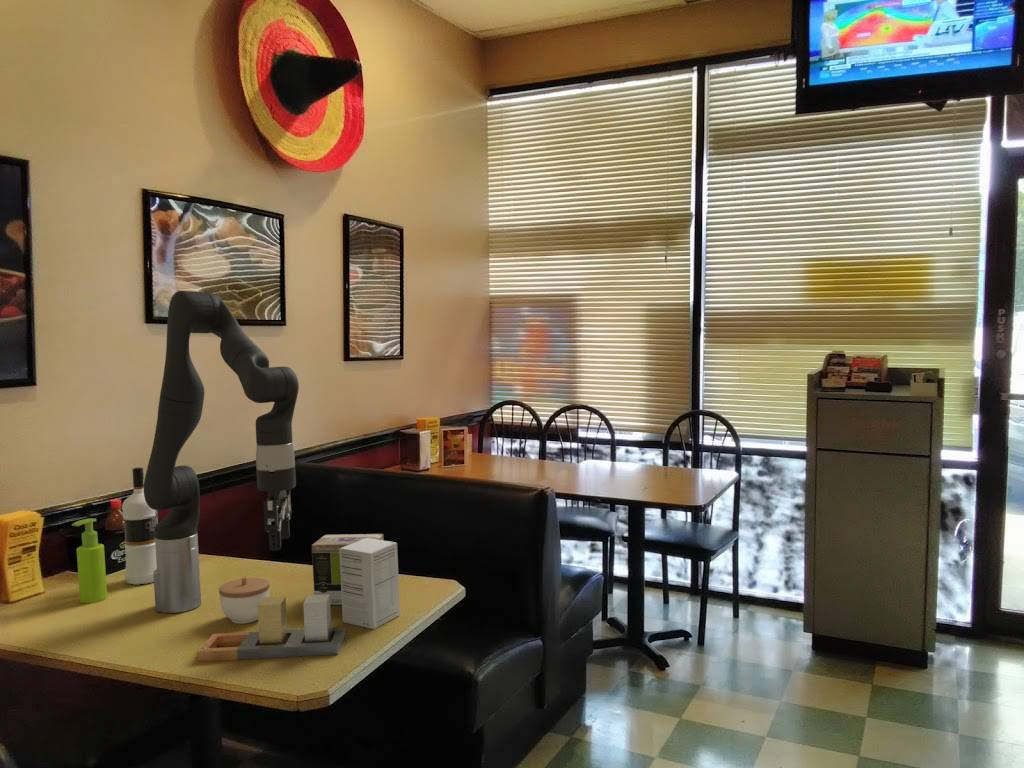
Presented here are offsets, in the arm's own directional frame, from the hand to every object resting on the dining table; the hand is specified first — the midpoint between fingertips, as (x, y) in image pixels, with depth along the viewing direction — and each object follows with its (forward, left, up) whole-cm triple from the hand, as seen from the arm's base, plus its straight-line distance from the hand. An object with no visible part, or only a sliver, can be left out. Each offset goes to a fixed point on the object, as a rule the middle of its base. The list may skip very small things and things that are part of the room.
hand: (279, 544), depth 157 cm
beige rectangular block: (-2, -2, -21) cm, 21 cm away
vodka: (-47, +48, -21) cm, 70 cm away
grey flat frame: (-2, -2, -21) cm, 21 cm away
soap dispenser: (-54, +34, -21) cm, 67 cm away
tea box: (+10, +26, -21) cm, 35 cm away
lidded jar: (-12, +16, -21) cm, 29 cm away
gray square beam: (+7, -2, -21) cm, 22 cm away
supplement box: (+16, +12, -21) cm, 29 cm away
